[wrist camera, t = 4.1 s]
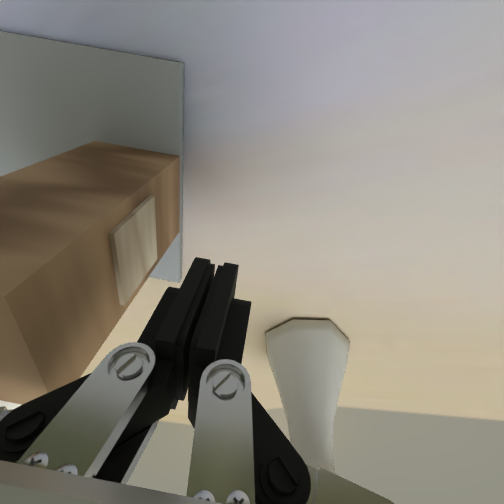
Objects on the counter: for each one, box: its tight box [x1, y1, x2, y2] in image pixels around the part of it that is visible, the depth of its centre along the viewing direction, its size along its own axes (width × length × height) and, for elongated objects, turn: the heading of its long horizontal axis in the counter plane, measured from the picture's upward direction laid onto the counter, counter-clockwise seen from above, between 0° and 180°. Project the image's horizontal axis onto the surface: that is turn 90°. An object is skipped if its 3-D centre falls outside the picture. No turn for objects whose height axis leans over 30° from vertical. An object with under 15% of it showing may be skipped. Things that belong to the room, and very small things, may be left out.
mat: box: [0, 31, 184, 283], centre depth 18 cm, size 18×14×1 cm
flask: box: [266, 319, 350, 476], centre depth 21 cm, size 7×7×10 cm
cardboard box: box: [0, 141, 180, 405], centre depth 13 cm, size 5×5×12 cm
